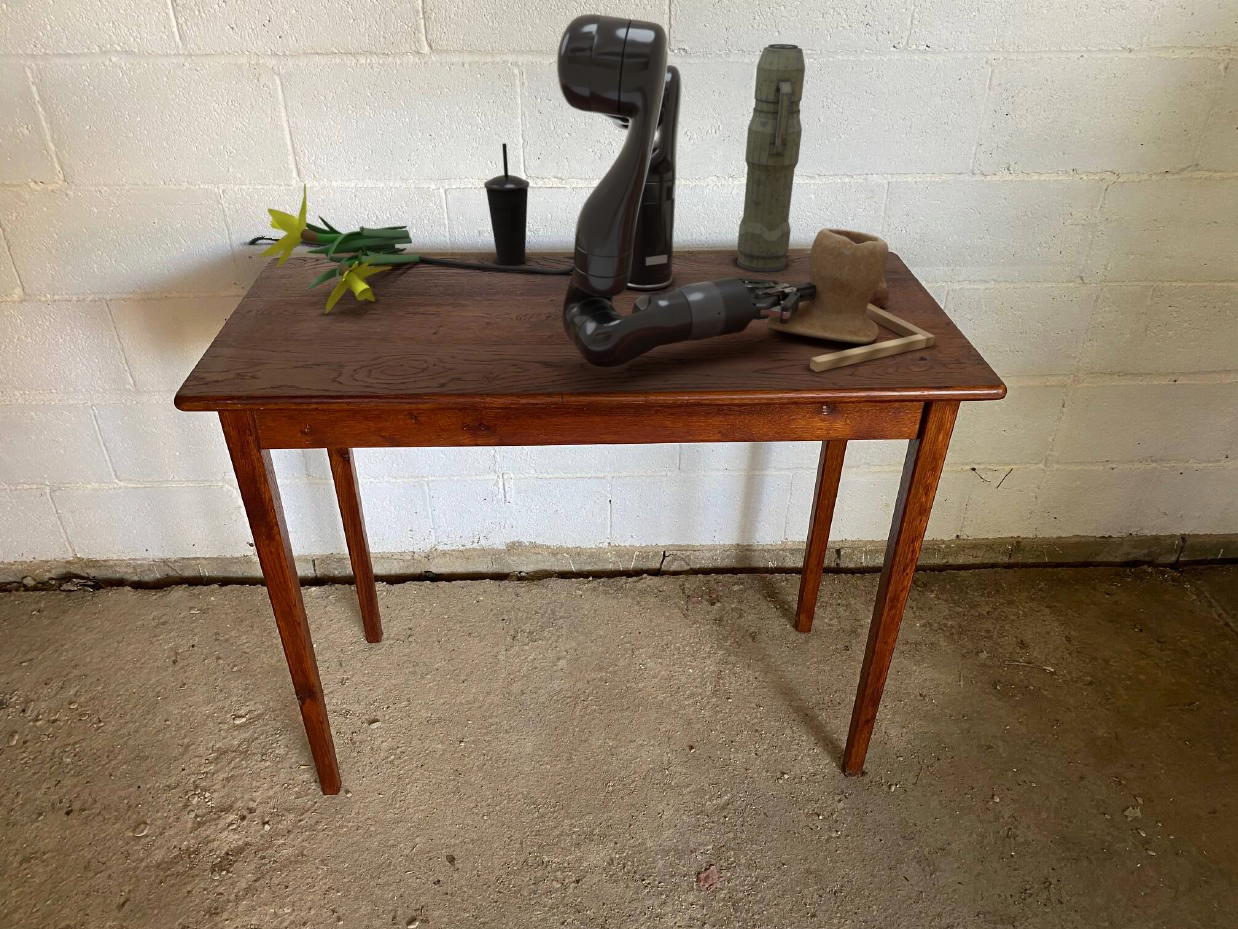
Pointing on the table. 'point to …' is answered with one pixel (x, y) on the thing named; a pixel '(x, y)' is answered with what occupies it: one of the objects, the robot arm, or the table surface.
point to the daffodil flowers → (342, 250)
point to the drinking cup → (508, 214)
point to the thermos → (771, 158)
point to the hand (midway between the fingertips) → (812, 290)
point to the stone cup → (840, 288)
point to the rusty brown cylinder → (880, 294)
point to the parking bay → (911, 341)
